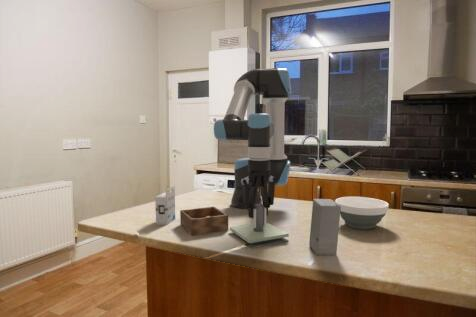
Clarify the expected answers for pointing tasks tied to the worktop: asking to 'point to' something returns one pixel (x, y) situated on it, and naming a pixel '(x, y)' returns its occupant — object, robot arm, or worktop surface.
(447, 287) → the worktop surface
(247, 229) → the lid
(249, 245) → the grey mat
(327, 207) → the skincare box
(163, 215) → the ink box
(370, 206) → the bowl
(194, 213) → the walnut box
